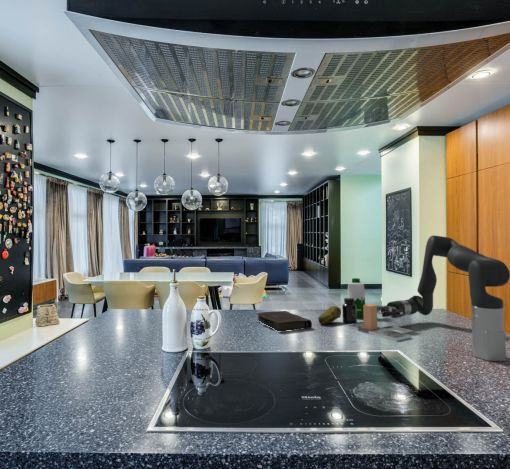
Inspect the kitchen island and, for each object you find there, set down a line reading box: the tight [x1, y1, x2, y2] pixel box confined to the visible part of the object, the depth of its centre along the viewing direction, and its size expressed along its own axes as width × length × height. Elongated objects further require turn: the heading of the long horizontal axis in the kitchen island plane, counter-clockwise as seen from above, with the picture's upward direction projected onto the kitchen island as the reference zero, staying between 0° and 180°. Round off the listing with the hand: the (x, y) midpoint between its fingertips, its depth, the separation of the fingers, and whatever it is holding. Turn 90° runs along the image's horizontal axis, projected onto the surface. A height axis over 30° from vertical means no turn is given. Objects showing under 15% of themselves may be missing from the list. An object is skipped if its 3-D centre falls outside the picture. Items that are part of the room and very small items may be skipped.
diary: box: [255, 310, 313, 331], centre depth 173 cm, size 19×25×5 cm
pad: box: [387, 326, 414, 334], centre depth 156 cm, size 9×9×1 cm
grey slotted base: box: [347, 322, 412, 342], centre depth 152 cm, size 26×9×2 cm, turn 30°
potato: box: [318, 306, 342, 325], centre depth 174 cm, size 8×13×8 cm, turn 104°
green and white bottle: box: [347, 277, 366, 319], centre depth 188 cm, size 9×9×20 cm
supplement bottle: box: [341, 297, 358, 325], centre depth 175 cm, size 7×7×12 cm
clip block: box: [363, 303, 378, 330], centre depth 156 cm, size 4×4×12 cm
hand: (374, 312), depth 157 cm, fingers open, 8 cm apart
